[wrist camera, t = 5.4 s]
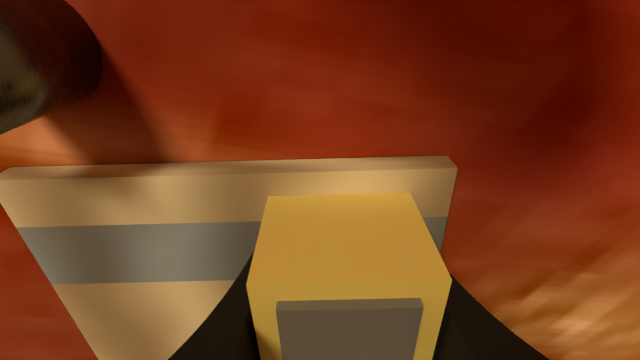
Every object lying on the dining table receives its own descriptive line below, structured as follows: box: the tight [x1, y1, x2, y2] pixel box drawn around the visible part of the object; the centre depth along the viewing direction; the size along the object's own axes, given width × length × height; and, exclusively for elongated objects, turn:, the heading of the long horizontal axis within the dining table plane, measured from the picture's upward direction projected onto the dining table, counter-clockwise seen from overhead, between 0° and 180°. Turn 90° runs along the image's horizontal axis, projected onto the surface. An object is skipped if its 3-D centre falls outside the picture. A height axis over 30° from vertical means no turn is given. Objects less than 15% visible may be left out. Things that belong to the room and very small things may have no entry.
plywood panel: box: [0, 156, 458, 360], centre depth 16 cm, size 16×21×1 cm
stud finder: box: [246, 193, 452, 360], centre depth 11 cm, size 5×6×4 cm
